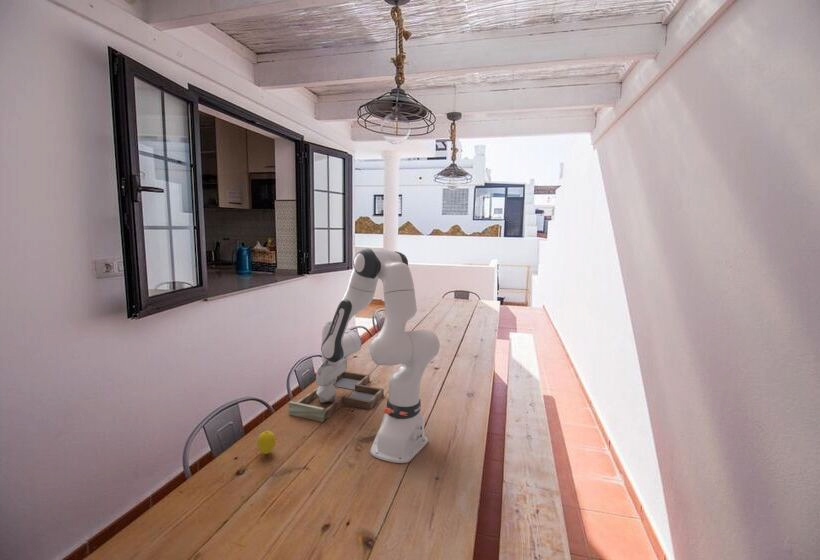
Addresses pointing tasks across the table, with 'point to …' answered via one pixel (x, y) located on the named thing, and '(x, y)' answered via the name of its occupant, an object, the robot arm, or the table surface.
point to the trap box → (320, 414)
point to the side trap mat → (361, 396)
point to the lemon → (266, 442)
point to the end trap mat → (346, 383)
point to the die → (326, 393)
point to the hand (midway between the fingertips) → (331, 387)
